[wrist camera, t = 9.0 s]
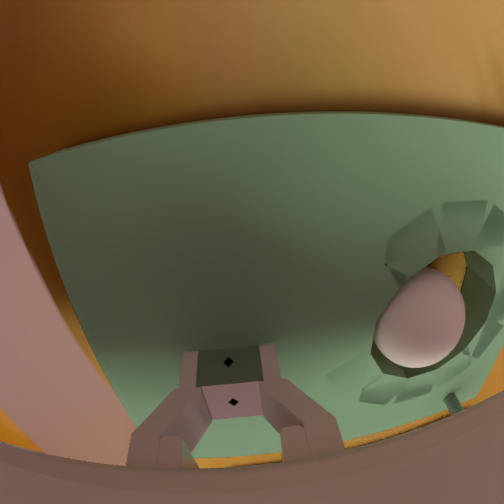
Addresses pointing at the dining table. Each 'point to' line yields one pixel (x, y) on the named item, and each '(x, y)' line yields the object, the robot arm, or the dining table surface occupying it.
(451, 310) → the ball
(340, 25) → the dining table surface
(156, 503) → the robot arm
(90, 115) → the dining table surface
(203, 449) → the golf putting green
